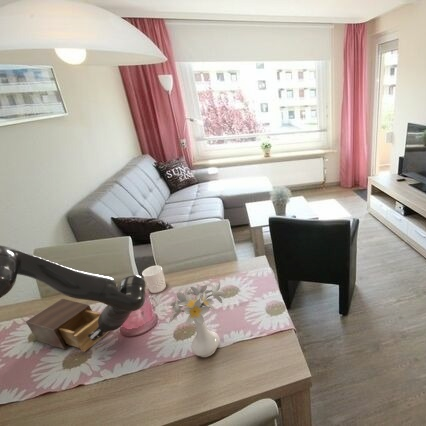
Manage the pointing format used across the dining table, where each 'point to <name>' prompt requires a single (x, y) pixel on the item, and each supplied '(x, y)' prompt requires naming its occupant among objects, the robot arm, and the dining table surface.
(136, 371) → the dining table surface
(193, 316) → the flower vase
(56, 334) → the wooden drawer box
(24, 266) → the robot arm
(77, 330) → the wooden drawer with knob
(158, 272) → the white cup
